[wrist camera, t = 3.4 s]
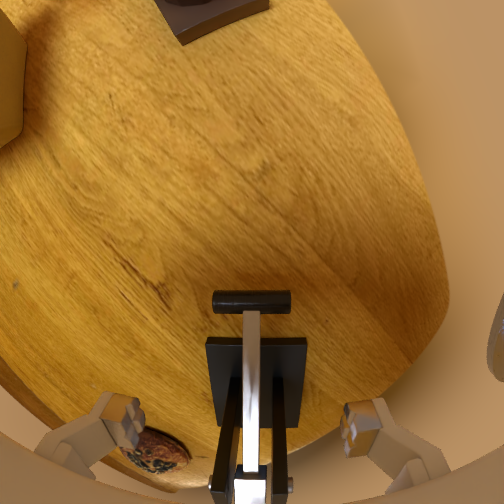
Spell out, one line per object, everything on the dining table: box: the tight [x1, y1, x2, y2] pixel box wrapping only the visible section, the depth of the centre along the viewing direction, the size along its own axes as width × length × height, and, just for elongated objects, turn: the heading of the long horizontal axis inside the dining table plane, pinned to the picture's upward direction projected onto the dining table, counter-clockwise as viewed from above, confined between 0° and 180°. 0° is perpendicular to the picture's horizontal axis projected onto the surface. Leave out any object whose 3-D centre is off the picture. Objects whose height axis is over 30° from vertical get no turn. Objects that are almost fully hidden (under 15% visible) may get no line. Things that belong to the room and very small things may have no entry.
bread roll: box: [119, 428, 190, 474], centre depth 30 cm, size 11×11×5 cm
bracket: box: [205, 337, 307, 504], centre depth 20 cm, size 12×9×14 cm
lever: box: [212, 290, 291, 504], centre depth 17 cm, size 16×5×2 cm
